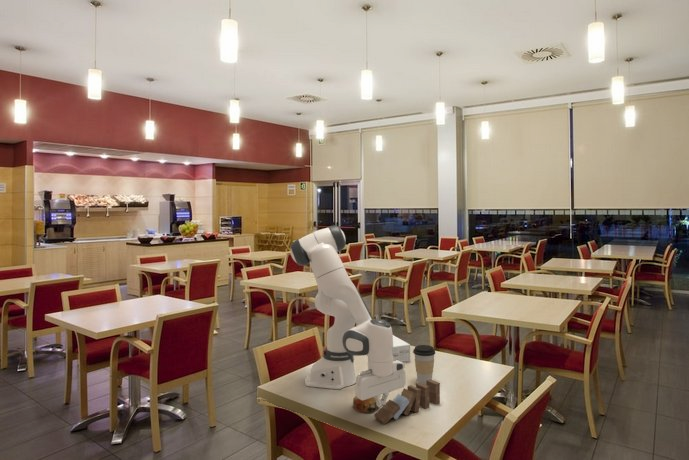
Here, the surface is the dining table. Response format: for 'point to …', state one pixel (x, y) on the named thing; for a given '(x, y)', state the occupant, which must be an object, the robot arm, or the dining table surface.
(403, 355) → the supplement box
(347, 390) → the dining table surface
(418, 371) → the coffee cup
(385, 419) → the domino
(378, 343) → the robot arm
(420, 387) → the domino
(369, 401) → the bread roll
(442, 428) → the dining table surface
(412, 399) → the domino
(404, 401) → the domino
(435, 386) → the domino
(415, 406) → the domino
